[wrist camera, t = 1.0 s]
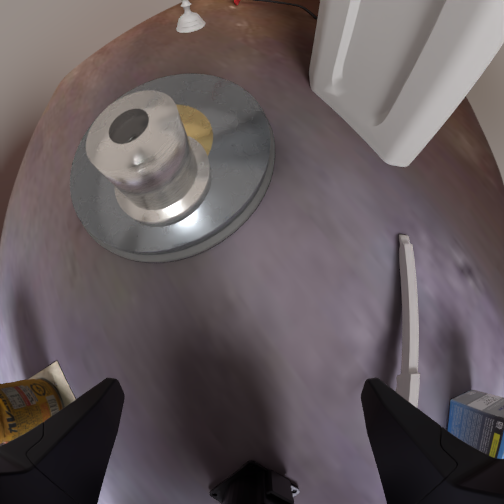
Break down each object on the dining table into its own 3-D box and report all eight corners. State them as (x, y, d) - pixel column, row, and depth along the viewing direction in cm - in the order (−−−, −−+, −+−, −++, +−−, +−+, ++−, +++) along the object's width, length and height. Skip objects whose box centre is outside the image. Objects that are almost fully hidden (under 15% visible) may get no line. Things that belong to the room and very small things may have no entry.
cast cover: (161, 247, 23) (113, 211, 15) (105, 190, 24) (57, 145, 16) (232, 173, 24) (221, 109, 16) (169, 128, 26) (142, 68, 17)
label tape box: (463, 449, 19) (524, 480, 7) (439, 462, 19) (499, 501, 7) (471, 388, 21) (547, 403, 9) (447, 399, 21) (524, 424, 9)
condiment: (22, 382, 22) (-47, 392, 11) (58, 360, 23) (-23, 368, 12) (49, 435, 21) (-16, 461, 9) (88, 420, 22) (15, 454, 10)
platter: (158, 305, 23) (152, 305, 22) (52, 176, 27) (45, 171, 26) (313, 139, 27) (316, 131, 25) (176, 63, 30) (173, 55, 29)
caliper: (386, 433, 21) (415, 457, 15) (377, 434, 21) (404, 459, 15) (405, 236, 26) (438, 215, 19) (397, 235, 26) (428, 213, 20)
